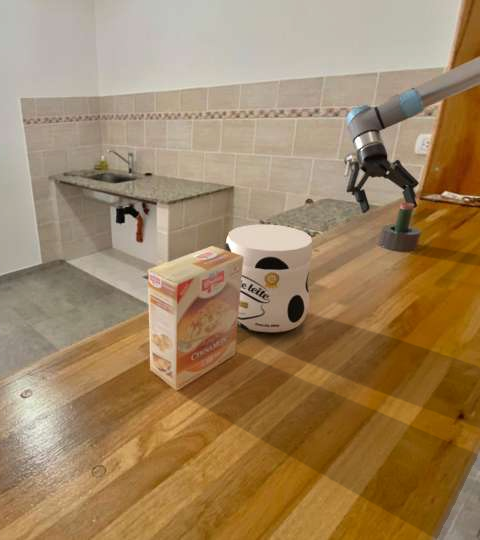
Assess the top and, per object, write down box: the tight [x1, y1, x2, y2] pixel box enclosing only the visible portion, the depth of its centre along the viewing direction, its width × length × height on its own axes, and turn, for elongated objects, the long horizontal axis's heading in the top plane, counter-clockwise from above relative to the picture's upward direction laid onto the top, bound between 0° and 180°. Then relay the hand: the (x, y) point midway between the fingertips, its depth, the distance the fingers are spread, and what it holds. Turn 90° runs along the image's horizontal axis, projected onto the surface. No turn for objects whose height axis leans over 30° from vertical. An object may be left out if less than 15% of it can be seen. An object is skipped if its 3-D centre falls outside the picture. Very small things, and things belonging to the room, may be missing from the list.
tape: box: [378, 224, 422, 252], centre depth 109 cm, size 9×9×5 cm
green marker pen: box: [394, 202, 415, 232], centre depth 108 cm, size 3×3×12 cm
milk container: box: [224, 224, 313, 335], centre depth 76 cm, size 17×17×18 cm
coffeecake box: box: [147, 245, 244, 392], centre depth 64 cm, size 15×7×20 cm, turn 126°
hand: (389, 209), depth 113 cm, fingers open, 13 cm apart
